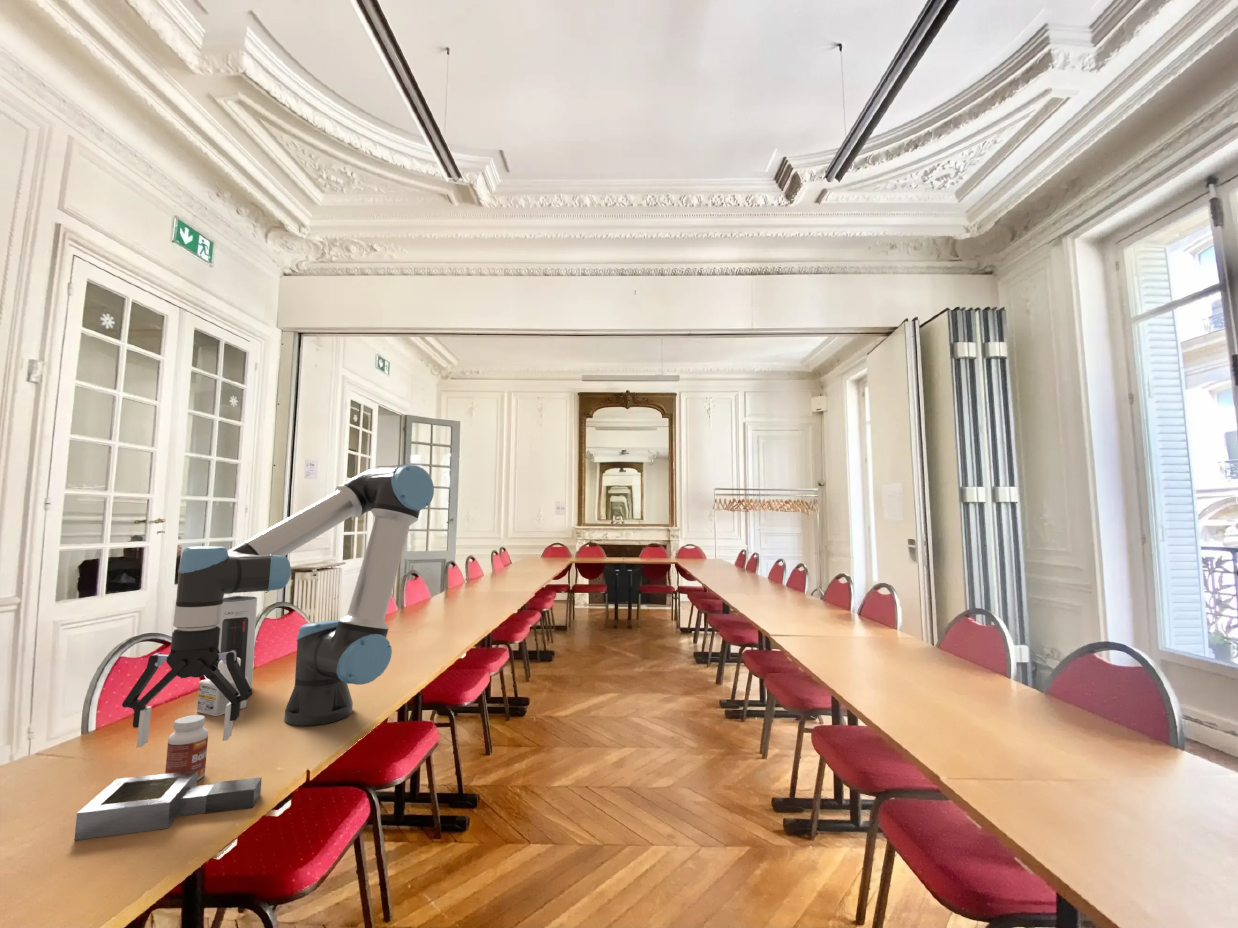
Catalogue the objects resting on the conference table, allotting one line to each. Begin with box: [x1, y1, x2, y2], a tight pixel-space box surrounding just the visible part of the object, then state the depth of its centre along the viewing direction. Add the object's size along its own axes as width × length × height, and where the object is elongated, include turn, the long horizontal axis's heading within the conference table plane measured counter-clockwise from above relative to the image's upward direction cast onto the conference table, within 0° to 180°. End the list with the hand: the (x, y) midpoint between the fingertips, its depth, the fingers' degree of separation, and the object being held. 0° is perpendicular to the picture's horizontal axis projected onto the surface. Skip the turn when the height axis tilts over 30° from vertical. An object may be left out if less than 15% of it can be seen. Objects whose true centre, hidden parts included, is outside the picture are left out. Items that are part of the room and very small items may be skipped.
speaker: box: [217, 595, 258, 690], centre depth 163 cm, size 11×10×26 cm
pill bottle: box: [164, 714, 209, 781], centre depth 109 cm, size 6×6×11 cm
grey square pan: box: [73, 770, 262, 841], centre depth 98 cm, size 23×12×4 cm, turn 109°
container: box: [196, 657, 248, 717], centre depth 147 cm, size 8×8×13 cm
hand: (185, 741), depth 109 cm, fingers open, 13 cm apart
